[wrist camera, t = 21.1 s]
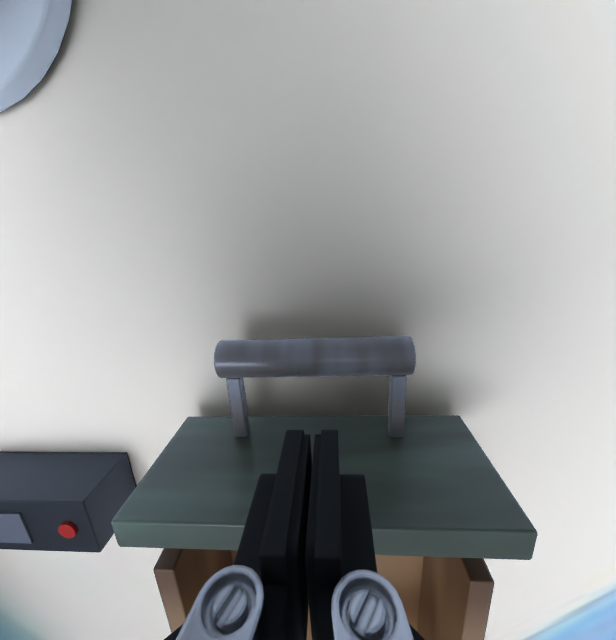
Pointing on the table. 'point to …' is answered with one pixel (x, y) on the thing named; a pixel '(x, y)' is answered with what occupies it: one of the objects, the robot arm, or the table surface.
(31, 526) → the remote
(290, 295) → the table surface
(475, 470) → the drawer
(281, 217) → the table surface
